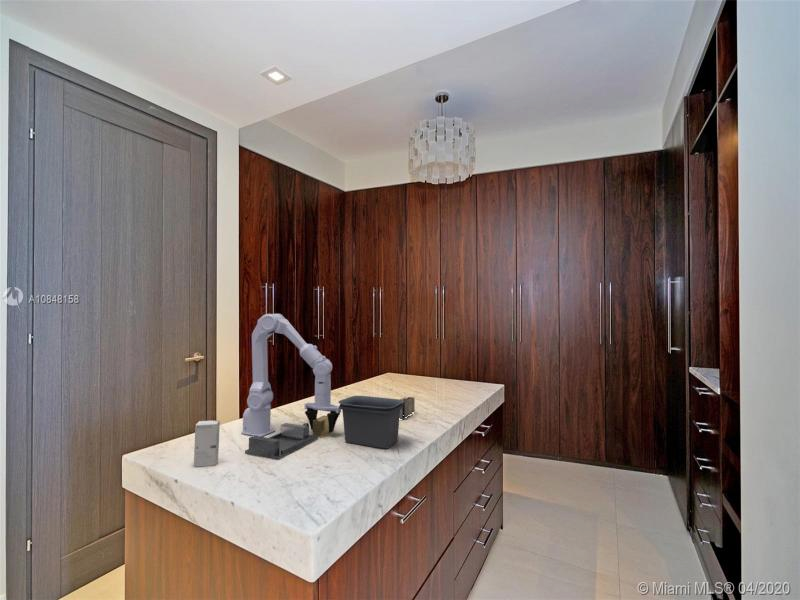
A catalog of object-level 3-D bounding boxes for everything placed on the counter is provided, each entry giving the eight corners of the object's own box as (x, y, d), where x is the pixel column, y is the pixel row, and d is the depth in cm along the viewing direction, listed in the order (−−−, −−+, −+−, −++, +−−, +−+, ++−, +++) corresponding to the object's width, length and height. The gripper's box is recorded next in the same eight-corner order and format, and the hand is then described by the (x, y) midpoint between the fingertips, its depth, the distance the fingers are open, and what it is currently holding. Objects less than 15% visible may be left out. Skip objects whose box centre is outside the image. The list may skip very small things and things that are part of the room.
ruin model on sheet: (403, 421, 165) (403, 397, 165) (396, 420, 166) (396, 397, 167) (415, 415, 175) (415, 392, 175) (409, 414, 176) (409, 392, 177)
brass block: (312, 437, 144) (312, 420, 144) (323, 431, 150) (323, 415, 150) (320, 438, 142) (321, 421, 142) (331, 432, 149) (331, 416, 149)
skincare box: (193, 467, 116) (193, 425, 116) (197, 461, 120) (198, 420, 120) (216, 465, 117) (216, 423, 117) (219, 459, 122) (220, 419, 122)
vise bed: (244, 453, 127) (245, 437, 127) (287, 434, 146) (287, 420, 146) (278, 460, 122) (278, 442, 122) (317, 439, 141) (318, 424, 141)
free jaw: (280, 436, 140) (280, 424, 140) (295, 429, 148) (295, 418, 148) (304, 440, 136) (304, 428, 136) (318, 433, 144) (318, 422, 144)
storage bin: (333, 444, 136) (334, 401, 137) (357, 431, 150) (357, 393, 151) (389, 454, 127) (390, 408, 128) (409, 439, 142) (409, 398, 142)
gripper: (345, 392, 147) (345, 430, 147) (312, 389, 153) (312, 425, 153) (335, 396, 141) (335, 435, 141) (301, 393, 146) (300, 430, 146)
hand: (322, 430), depth 146 cm, fingers open, 7 cm apart
